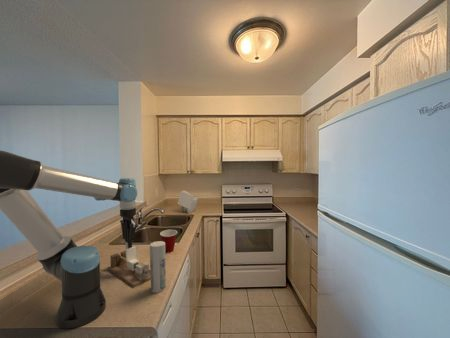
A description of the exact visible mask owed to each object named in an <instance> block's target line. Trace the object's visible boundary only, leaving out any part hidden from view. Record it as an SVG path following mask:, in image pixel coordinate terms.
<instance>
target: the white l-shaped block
mask: <svg viewBox="0 0 450 338" xmlns="http://www.w3.org/2000/svg"><path fill="white" fill-rule="evenodd" d="M125 251H126V262H127V268H129V269H130V270H132V271H133V270H136V268H135V267H134V264H140V260H138V259H137V246H136V245H135V246H132V248H129V249H126V248H125Z"/></svg>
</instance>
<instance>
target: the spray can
mask: <svg viewBox="0 0 450 338" xmlns="http://www.w3.org/2000/svg"><path fill="white" fill-rule="evenodd" d="M149 260H150V261H149V263H150V265H149V270H151V280H150V291H151V292H152V293H153V294H154V293H155V294H156V293H157V294H158V293H162V292H163V291H165V290H166V287H167V283H166V282H167V276H166V275H167V272H166V271H167V270H166V268H167V267H166V265H167V264H166V252H165V242H163V241H162V240H160V241H159V240H158V241H153V242H151V243H150V244H149Z"/></svg>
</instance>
